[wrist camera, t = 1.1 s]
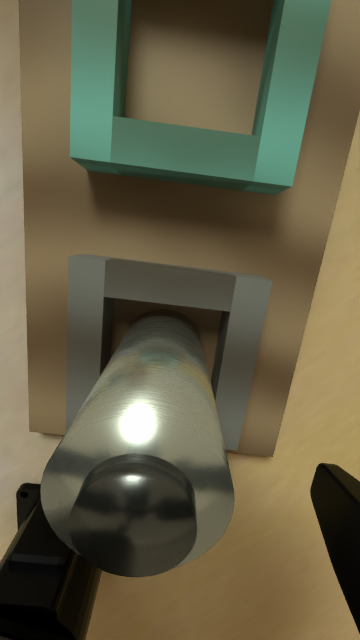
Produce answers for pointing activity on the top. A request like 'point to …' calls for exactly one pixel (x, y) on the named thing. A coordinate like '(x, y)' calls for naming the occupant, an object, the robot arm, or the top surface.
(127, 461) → the steel pin
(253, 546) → the top surface
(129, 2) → the dock plate
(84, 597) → the robot arm
